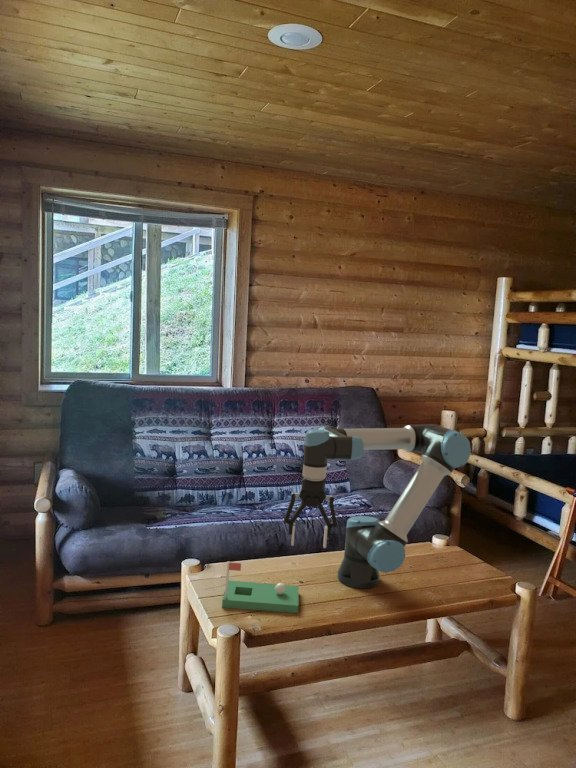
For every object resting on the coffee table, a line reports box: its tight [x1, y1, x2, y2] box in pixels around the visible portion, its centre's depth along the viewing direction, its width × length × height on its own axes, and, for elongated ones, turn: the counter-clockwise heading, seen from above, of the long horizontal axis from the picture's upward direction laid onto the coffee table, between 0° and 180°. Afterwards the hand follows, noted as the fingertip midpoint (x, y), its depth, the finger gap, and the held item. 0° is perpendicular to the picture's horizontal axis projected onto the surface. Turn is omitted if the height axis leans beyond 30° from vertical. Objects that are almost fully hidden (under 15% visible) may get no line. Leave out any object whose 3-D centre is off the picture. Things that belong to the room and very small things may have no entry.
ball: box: [275, 582, 286, 595], centre depth 192 cm, size 4×4×4 cm
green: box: [221, 580, 300, 614], centre depth 192 cm, size 24×14×2 cm, turn 89°
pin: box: [224, 561, 242, 599], centre depth 186 cm, size 4×1×12 cm, turn 89°
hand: (308, 545), depth 190 cm, fingers open, 10 cm apart
